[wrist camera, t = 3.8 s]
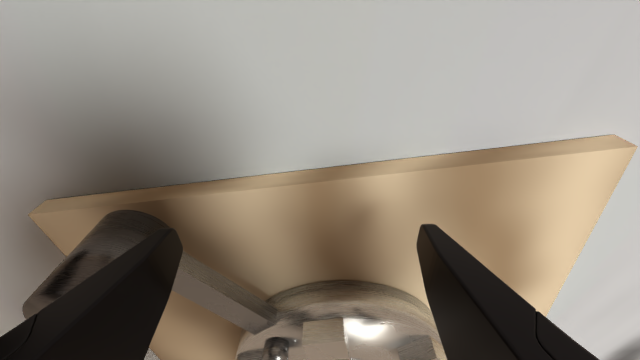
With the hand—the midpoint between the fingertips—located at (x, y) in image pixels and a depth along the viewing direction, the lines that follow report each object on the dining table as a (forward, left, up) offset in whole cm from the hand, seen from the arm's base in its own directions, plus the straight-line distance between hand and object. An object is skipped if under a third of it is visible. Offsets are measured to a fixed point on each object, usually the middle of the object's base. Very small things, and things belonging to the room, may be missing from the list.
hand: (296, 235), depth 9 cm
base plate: (-3, -12, -4) cm, 13 cm away
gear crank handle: (-2, -8, -3) cm, 9 cm away
